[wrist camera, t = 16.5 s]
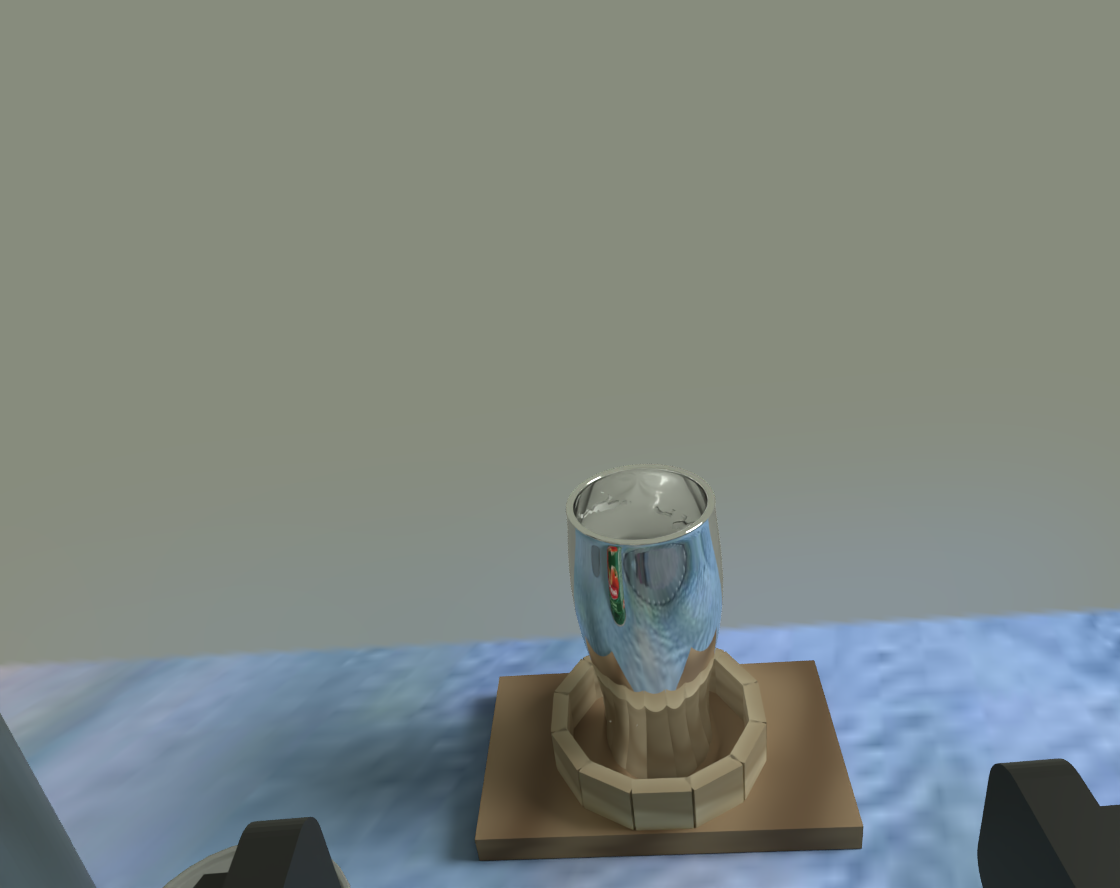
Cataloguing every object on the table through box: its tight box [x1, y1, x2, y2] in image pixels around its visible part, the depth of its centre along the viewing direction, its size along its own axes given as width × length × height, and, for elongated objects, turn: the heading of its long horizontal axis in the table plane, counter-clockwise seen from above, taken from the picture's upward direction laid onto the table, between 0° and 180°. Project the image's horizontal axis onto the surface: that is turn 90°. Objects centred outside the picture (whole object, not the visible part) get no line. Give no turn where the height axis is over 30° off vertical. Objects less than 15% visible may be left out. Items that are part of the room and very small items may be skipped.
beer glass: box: [566, 464, 723, 779], centre depth 42 cm, size 7×7×15 cm
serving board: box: [475, 648, 863, 861], centre depth 46 cm, size 18×11×4 cm, turn 87°
